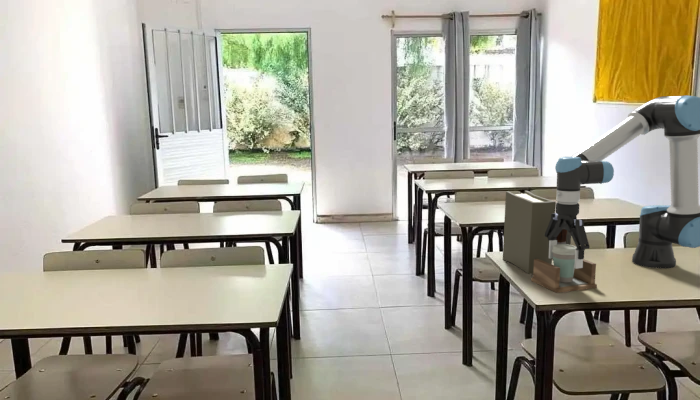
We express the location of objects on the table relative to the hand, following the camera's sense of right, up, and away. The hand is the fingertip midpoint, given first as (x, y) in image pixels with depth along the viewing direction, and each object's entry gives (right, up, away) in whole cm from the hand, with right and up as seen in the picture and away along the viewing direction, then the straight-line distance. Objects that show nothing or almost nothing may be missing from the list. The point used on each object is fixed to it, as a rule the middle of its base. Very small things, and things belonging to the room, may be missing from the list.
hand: (565, 263), depth 200 cm
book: (-6, -4, +24) cm, 25 cm away
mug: (+13, 0, +46) cm, 48 cm away
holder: (0, -8, +1) cm, 8 cm away
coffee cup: (0, -6, +1) cm, 6 cm away
